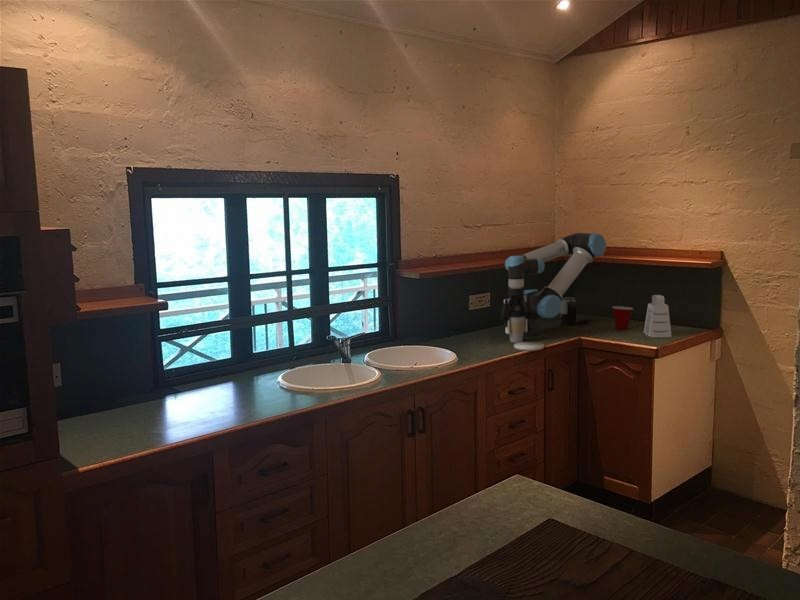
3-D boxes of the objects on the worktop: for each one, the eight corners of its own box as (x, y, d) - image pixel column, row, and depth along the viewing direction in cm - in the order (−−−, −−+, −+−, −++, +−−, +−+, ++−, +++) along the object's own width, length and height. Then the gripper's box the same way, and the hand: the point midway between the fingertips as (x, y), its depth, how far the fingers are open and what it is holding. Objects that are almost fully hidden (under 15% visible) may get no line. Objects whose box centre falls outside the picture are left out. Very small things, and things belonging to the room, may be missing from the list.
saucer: (508, 348, 325) (508, 345, 324) (523, 343, 335) (523, 340, 335) (534, 351, 316) (534, 349, 315) (549, 346, 326) (549, 343, 326)
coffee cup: (512, 339, 346) (512, 309, 344) (529, 340, 341) (529, 311, 338) (503, 342, 339) (503, 312, 337) (520, 344, 333) (519, 313, 331)
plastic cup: (637, 329, 363) (637, 307, 361) (620, 331, 359) (621, 308, 357) (623, 326, 373) (623, 304, 371) (607, 328, 369) (607, 306, 367)
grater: (650, 337, 342) (651, 297, 339) (643, 333, 352) (644, 294, 350) (671, 336, 342) (672, 296, 339) (664, 332, 352) (665, 294, 349)
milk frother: (555, 323, 387) (555, 297, 385) (576, 321, 394) (576, 295, 392) (572, 327, 374) (572, 300, 372) (594, 324, 382) (594, 298, 380)
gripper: (500, 289, 329) (500, 335, 332) (539, 286, 337) (539, 331, 340) (492, 288, 336) (493, 333, 339) (531, 285, 344) (531, 329, 347)
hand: (516, 332), depth 339 cm, fingers closed on coffee cup, 9 cm apart
